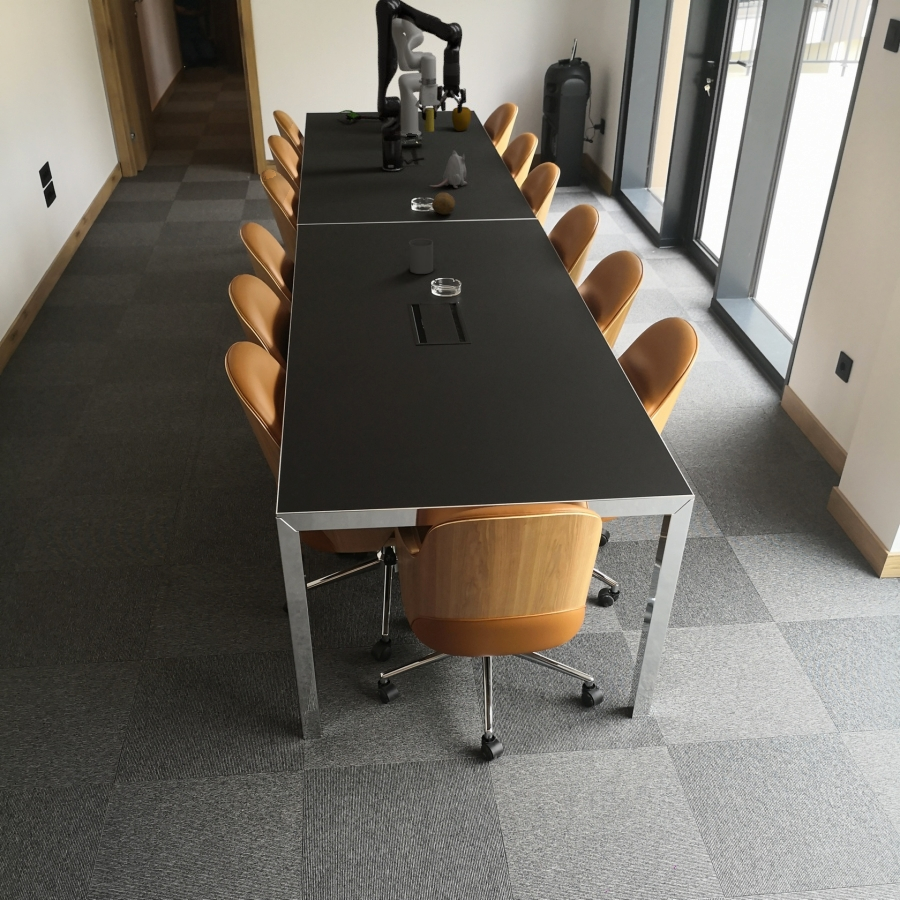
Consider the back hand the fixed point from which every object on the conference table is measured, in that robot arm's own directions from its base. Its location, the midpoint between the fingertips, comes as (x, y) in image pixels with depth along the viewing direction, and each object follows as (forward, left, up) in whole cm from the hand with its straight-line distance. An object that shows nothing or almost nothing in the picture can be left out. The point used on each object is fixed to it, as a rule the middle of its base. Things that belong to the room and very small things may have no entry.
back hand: (429, 118), depth 448 cm
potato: (+100, -49, -15) cm, 112 cm away
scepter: (-74, -3, -15) cm, 76 cm away
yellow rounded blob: (-27, +36, -15) cm, 47 cm away
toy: (+69, -29, -15) cm, 76 cm away
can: (0, 0, -6) cm, 6 cm away
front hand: (+57, -20, +15) cm, 62 cm away
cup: (+152, -88, -15) cm, 177 cm away
